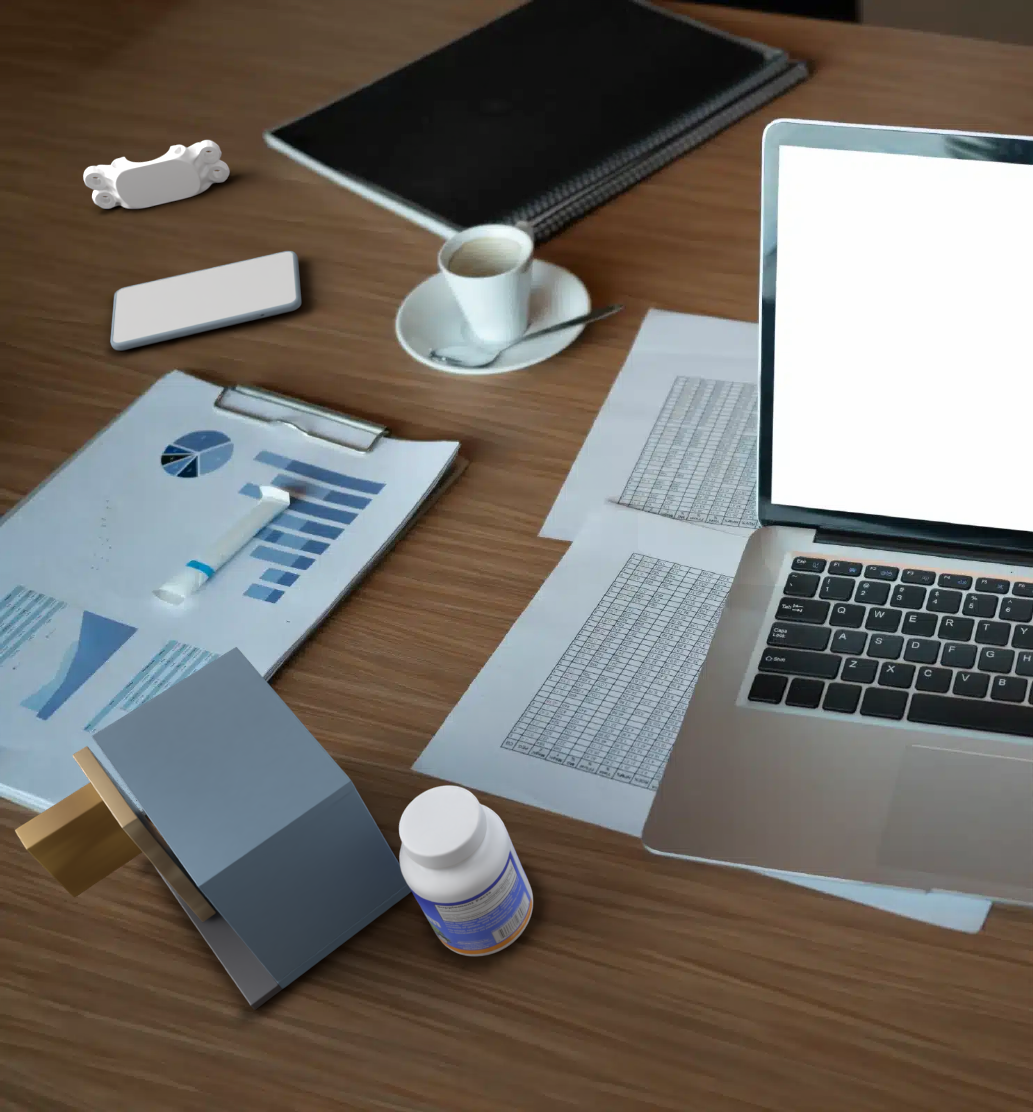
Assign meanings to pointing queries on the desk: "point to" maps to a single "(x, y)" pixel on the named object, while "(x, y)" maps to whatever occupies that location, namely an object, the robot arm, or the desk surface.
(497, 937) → the pill bottle
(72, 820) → the tan piece
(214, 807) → the grey-blue hollow box
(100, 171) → the curved bracket
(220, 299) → the smartphone
